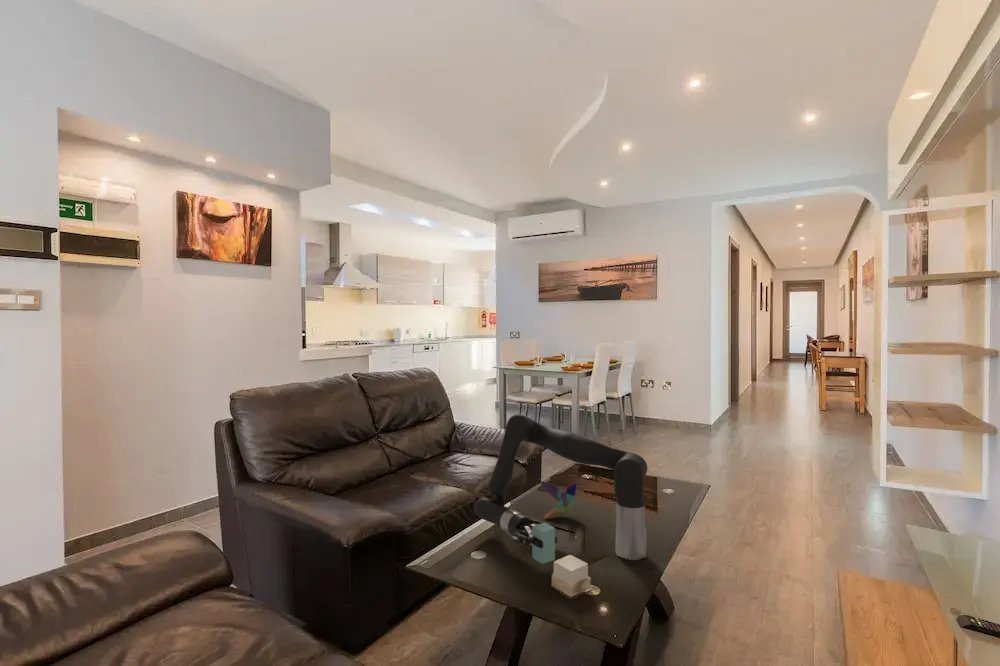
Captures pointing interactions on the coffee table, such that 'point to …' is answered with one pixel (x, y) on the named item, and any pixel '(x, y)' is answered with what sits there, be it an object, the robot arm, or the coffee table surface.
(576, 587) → the tower base block
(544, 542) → the teal block
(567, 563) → the tower top block
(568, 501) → the decorative sculpture
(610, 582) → the coffee table surface
